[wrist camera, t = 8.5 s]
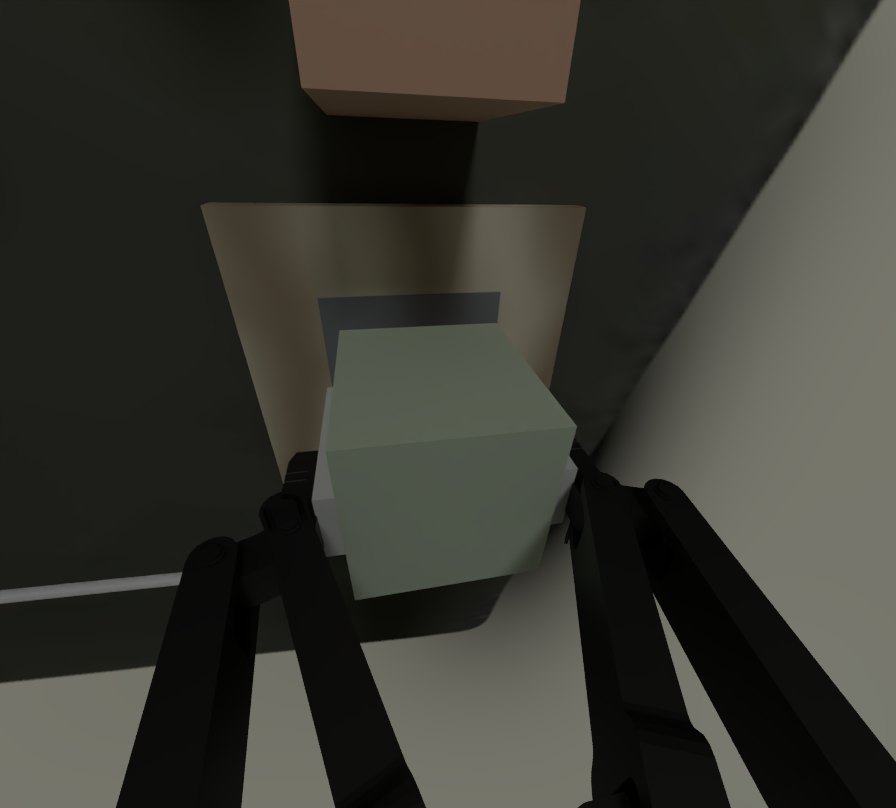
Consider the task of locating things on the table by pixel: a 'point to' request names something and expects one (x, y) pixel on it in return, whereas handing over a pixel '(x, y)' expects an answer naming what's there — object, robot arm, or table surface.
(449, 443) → the sage block
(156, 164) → the table surface
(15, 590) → the pen
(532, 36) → the terracotta block
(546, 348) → the beige flat square slab
